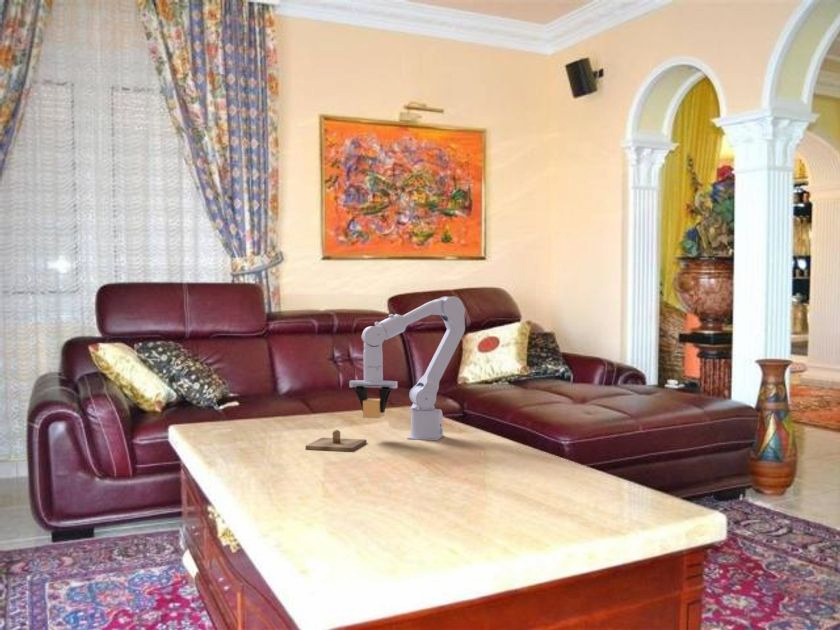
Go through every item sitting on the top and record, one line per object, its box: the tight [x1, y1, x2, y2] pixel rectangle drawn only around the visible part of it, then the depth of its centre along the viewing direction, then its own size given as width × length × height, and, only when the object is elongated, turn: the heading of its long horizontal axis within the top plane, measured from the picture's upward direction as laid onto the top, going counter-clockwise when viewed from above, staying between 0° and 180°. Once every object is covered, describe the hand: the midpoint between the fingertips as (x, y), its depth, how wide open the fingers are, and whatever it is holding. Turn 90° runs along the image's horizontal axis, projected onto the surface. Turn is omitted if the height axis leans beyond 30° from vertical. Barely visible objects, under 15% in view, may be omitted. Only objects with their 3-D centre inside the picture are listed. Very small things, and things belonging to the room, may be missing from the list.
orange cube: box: [362, 397, 385, 419], centre depth 221 cm, size 5×5×5 cm
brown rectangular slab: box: [305, 429, 368, 452], centre depth 213 cm, size 14×12×5 cm
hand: (373, 411), depth 221 cm, fingers closed on orange cube, 5 cm apart
